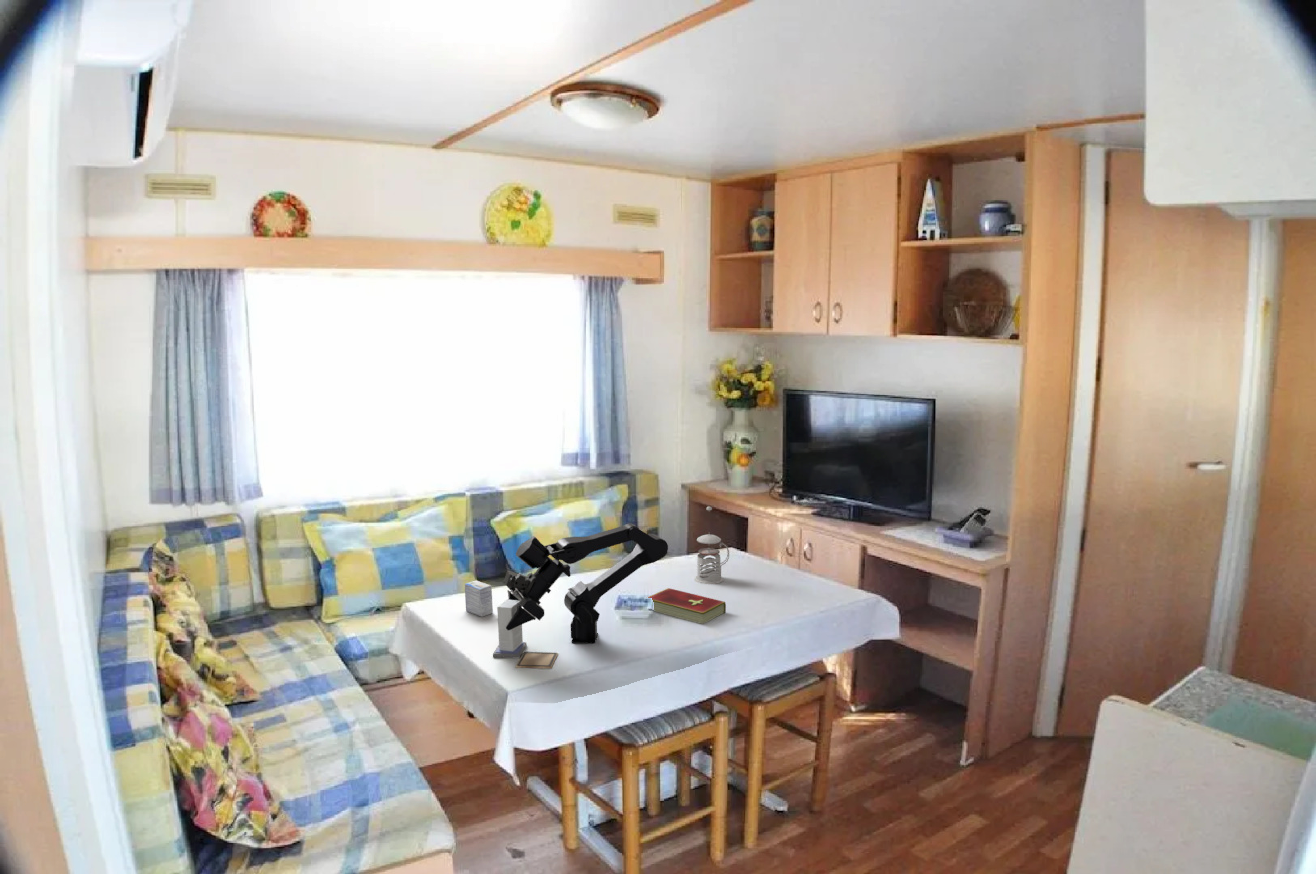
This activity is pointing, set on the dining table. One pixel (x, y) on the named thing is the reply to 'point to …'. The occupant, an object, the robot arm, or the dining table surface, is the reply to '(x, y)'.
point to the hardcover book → (687, 605)
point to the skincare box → (507, 638)
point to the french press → (709, 560)
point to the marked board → (537, 660)
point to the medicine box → (478, 598)
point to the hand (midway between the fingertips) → (503, 624)
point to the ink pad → (510, 652)
